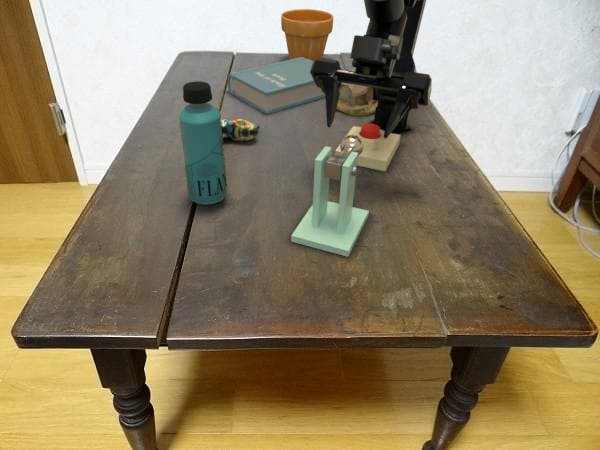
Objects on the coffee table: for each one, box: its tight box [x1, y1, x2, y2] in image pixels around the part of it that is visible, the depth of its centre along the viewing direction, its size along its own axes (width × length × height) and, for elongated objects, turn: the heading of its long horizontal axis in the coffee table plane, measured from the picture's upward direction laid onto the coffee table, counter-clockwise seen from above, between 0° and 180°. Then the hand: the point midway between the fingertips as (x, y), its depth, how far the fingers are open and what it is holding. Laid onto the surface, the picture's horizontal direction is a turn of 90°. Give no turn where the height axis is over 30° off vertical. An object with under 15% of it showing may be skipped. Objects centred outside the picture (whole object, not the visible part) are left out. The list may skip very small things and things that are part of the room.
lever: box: [325, 135, 364, 181], centre depth 72 cm, size 11×4×4 cm, turn 158°
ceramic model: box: [336, 67, 378, 117], centre depth 112 cm, size 14×11×10 cm
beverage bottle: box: [177, 80, 228, 206], centre depth 74 cm, size 6×7×20 cm
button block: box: [334, 125, 402, 172], centre depth 95 cm, size 12×10×4 cm
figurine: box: [221, 118, 260, 142], centre depth 99 cm, size 10×4×15 cm
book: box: [227, 57, 326, 115], centre depth 119 cm, size 23×16×5 cm
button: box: [360, 123, 380, 139], centre depth 93 cm, size 4×4×2 cm
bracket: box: [290, 145, 370, 258], centre depth 71 cm, size 11×9×13 cm
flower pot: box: [280, 8, 334, 61], centre depth 135 cm, size 14×14×13 cm
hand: (356, 131), depth 75 cm, fingers open, 9 cm apart
